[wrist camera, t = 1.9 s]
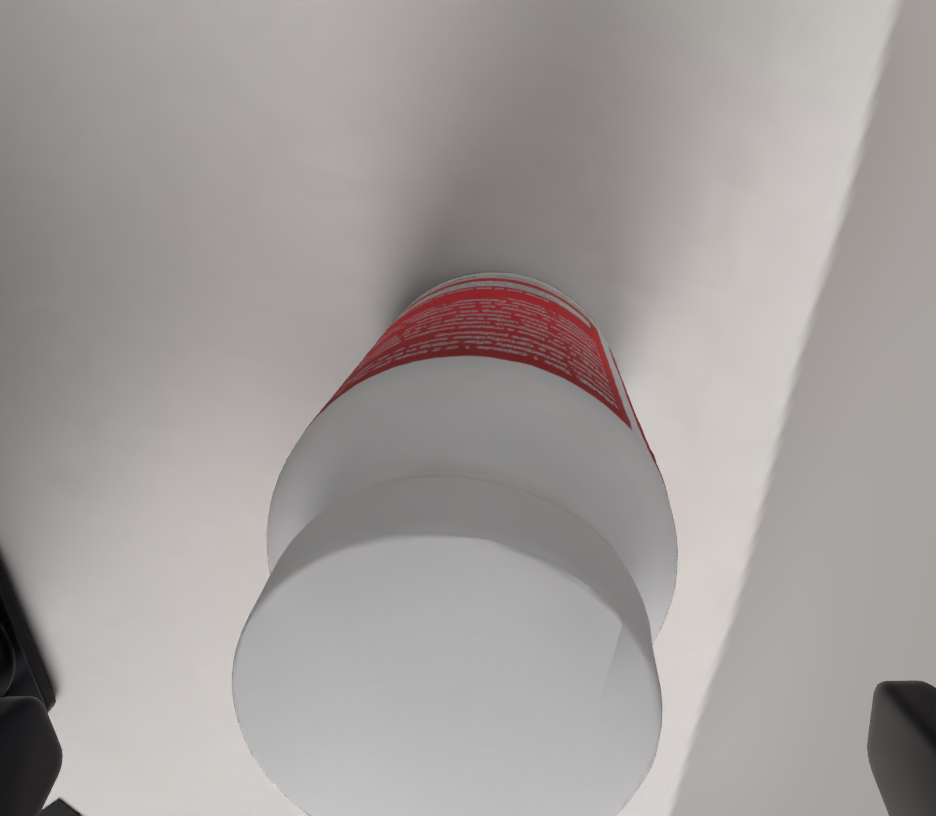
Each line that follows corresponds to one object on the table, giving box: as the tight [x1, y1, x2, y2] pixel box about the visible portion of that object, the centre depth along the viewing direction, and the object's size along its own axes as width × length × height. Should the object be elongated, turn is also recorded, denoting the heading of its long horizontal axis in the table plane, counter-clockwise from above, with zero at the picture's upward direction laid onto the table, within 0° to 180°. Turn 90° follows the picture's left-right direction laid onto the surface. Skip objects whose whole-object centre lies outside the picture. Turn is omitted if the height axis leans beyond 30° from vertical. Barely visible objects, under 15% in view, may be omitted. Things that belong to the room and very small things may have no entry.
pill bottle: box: [232, 272, 678, 816], centre depth 12 cm, size 6×6×11 cm
